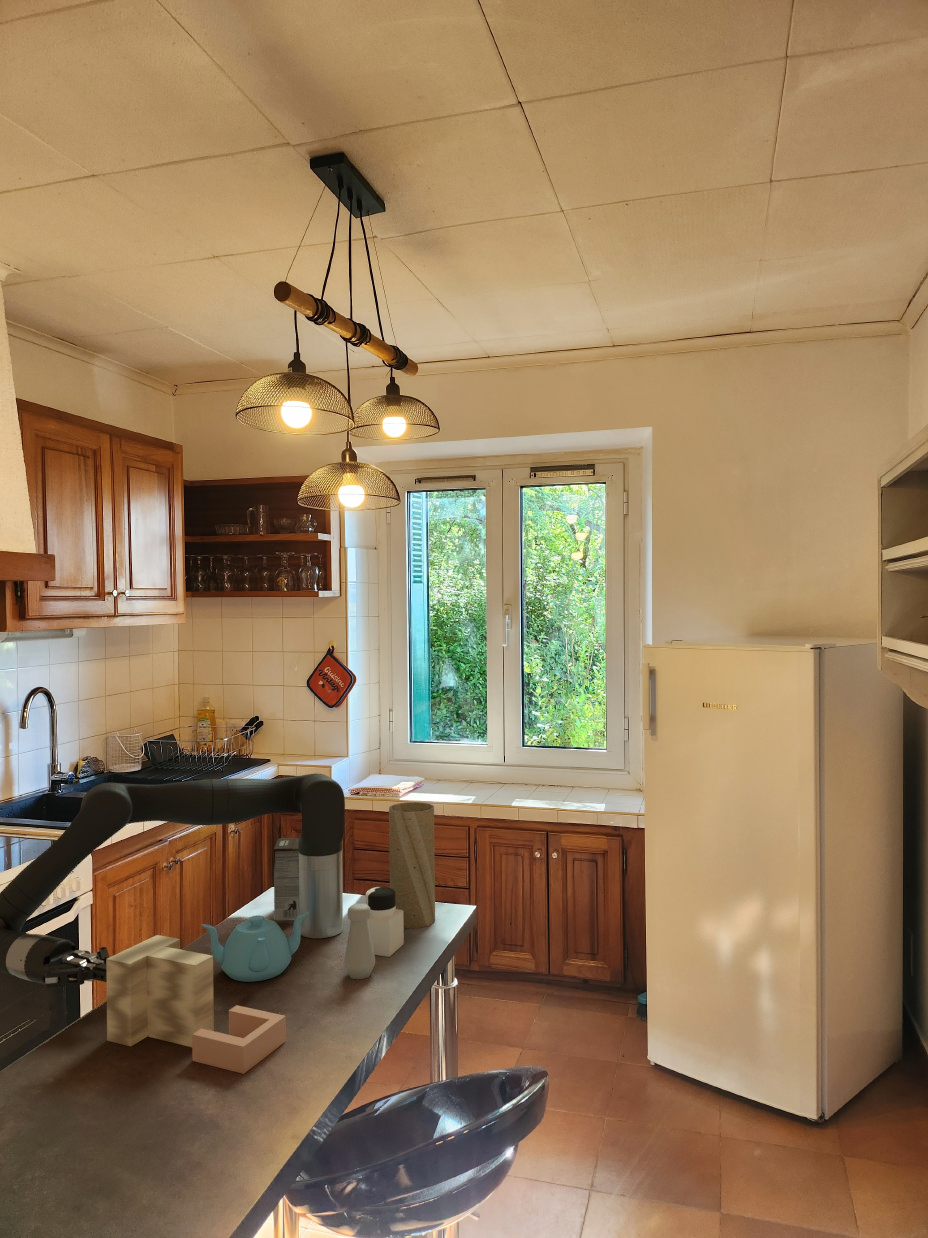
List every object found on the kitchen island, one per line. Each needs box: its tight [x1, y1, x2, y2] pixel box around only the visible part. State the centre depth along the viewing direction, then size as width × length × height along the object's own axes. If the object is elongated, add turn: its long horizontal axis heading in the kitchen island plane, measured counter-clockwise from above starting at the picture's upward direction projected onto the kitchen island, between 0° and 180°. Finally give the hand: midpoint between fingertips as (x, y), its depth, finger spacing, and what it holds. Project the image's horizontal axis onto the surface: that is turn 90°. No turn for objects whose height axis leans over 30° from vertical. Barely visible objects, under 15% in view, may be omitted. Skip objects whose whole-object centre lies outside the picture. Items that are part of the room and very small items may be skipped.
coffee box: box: [273, 837, 300, 921], centre depth 192 cm, size 9×6×16 cm
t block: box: [106, 934, 215, 1048], centre depth 136 cm, size 15×11×13 cm
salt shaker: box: [344, 903, 376, 980], centre depth 158 cm, size 6×6×13 cm
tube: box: [388, 801, 436, 929], centre depth 187 cm, size 10×10×25 cm
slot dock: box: [191, 1004, 287, 1074], centre depth 131 cm, size 10×10×4 cm
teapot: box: [200, 912, 309, 983], centre depth 161 cm, size 15×15×10 cm
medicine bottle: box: [365, 886, 405, 958], centre depth 171 cm, size 7×7×12 cm
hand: (115, 975), depth 141 cm, fingers closed
